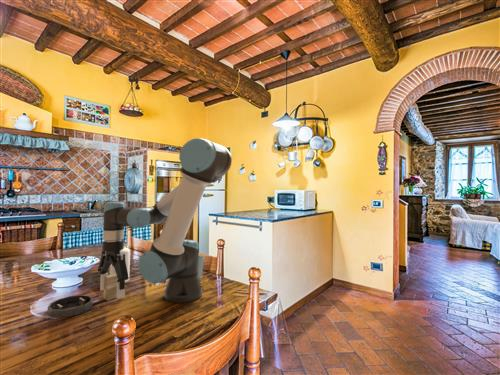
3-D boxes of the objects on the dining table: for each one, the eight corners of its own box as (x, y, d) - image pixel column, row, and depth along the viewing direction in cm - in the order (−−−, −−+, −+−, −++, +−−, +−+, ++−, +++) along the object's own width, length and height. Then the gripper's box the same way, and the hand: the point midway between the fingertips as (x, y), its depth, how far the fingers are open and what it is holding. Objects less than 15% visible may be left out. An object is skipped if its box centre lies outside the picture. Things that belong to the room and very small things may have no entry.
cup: (199, 274, 134) (199, 254, 135) (206, 279, 128) (206, 258, 129) (185, 277, 130) (186, 256, 130) (192, 282, 124) (192, 260, 124)
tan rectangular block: (119, 296, 105) (120, 274, 105) (107, 300, 101) (107, 277, 101) (116, 294, 107) (116, 272, 107) (103, 298, 103) (104, 275, 103)
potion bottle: (121, 285, 117) (122, 246, 117) (105, 284, 119) (106, 244, 119) (132, 279, 125) (134, 242, 125) (117, 278, 127) (119, 241, 127)
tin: (98, 307, 95) (98, 300, 95) (56, 321, 84) (56, 314, 84) (83, 298, 102) (83, 292, 102) (42, 310, 92) (42, 303, 92)
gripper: (139, 242, 101) (137, 298, 100) (108, 235, 115) (106, 284, 114) (120, 245, 94) (118, 304, 94) (89, 237, 109) (88, 289, 108)
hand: (111, 293), depth 104 cm, fingers open, 12 cm apart
